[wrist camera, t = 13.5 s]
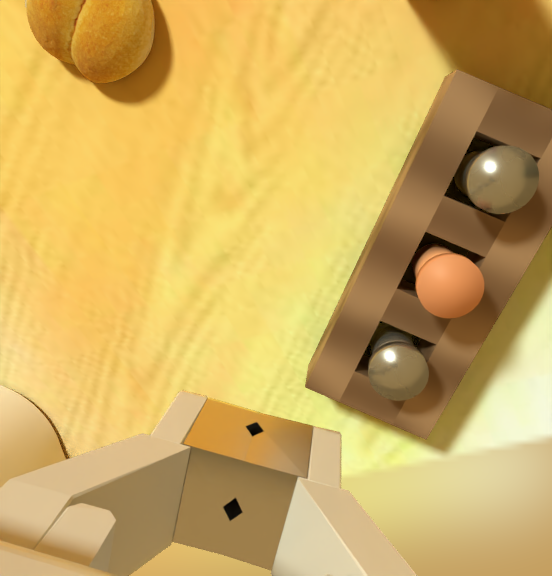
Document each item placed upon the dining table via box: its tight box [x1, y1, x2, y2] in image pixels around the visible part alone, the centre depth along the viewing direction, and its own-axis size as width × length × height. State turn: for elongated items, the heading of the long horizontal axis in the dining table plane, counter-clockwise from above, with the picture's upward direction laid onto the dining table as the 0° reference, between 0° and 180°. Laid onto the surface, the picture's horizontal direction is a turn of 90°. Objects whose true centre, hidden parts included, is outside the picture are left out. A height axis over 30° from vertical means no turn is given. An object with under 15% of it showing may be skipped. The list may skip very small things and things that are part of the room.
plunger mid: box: [412, 243, 484, 318], centre depth 35 cm, size 4×4×6 cm
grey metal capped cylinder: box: [368, 322, 429, 401], centre depth 38 cm, size 4×4×6 cm
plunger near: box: [454, 146, 539, 214], centre depth 33 cm, size 4×4×6 cm
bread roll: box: [25, 0, 155, 83], centre depth 36 cm, size 8×9×4 cm
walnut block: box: [305, 70, 552, 439], centre depth 37 cm, size 24×10×4 cm, turn 158°
